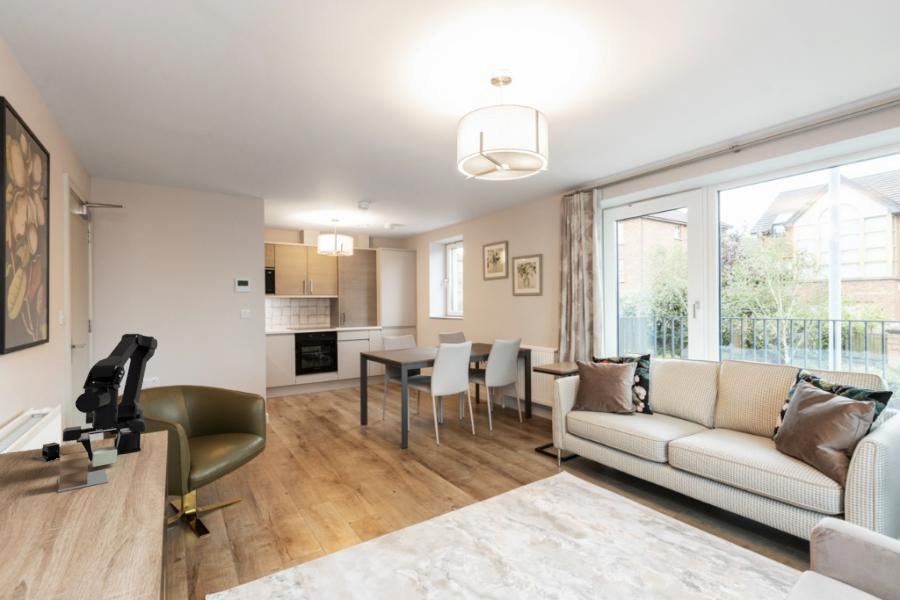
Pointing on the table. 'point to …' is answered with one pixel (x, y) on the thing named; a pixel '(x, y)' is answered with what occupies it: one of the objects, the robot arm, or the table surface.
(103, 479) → the slate mat
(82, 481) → the walnut block lower
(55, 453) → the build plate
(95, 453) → the sage block
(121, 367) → the robot arm
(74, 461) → the walnut block upper
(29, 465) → the table surface
